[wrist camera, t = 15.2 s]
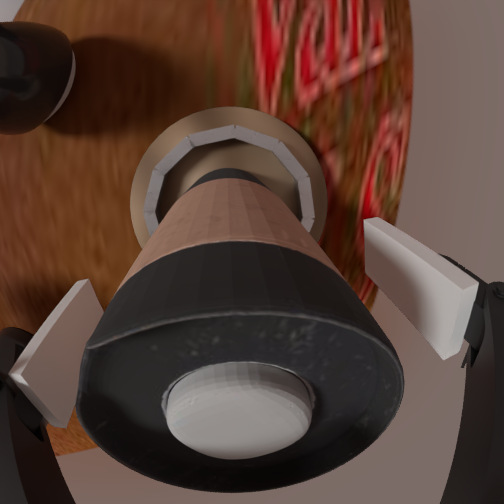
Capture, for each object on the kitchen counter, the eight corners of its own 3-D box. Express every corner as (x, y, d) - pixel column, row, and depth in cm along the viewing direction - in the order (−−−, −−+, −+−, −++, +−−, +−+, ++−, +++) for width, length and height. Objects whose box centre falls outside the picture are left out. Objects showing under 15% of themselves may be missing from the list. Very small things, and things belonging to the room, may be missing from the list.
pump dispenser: (35, 35, 15) (-59, 6, 1) (107, 42, 18) (11, -20, 4) (3, 123, 18) (-102, 140, 4) (68, 142, 21) (-55, 165, 7)
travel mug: (282, 239, 25) (392, 454, 6) (199, 262, 25) (168, 498, 7) (260, 152, 22) (428, 230, 3) (169, 180, 22) (0, 344, 4)
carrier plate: (166, 303, 28) (160, 320, 25) (116, 137, 21) (102, 138, 19) (329, 270, 28) (339, 284, 25) (306, 95, 22) (317, 90, 19)
